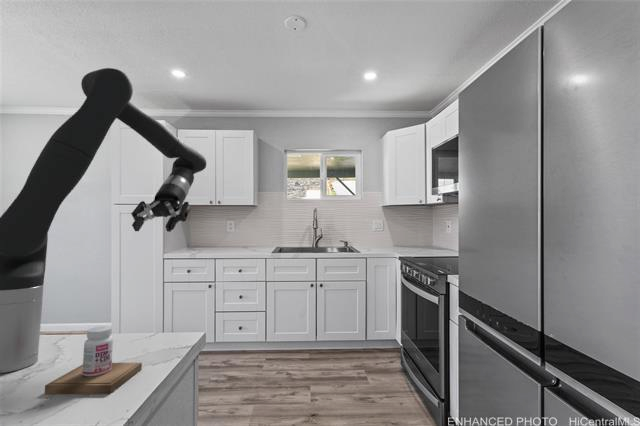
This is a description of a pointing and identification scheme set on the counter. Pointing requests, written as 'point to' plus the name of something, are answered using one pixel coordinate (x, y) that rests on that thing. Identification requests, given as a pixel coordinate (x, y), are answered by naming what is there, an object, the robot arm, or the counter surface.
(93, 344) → the pill bottle
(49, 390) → the walnut tray
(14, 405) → the counter surface
